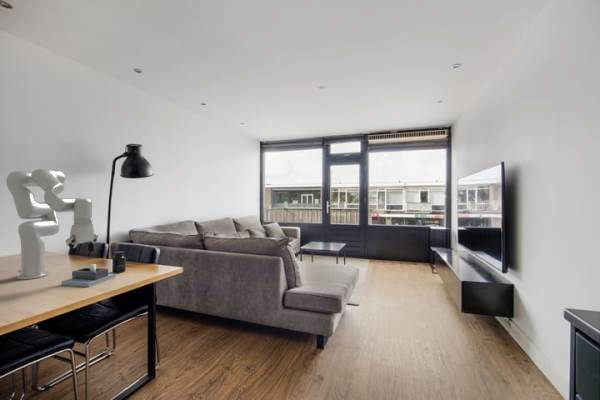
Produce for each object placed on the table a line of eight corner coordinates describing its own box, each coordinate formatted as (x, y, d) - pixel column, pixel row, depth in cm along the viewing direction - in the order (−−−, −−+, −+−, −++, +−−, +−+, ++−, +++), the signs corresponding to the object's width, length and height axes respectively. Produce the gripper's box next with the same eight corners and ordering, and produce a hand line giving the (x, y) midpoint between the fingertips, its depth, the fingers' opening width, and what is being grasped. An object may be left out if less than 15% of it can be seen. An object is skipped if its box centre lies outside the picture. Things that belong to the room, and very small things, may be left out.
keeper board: (61, 285, 135) (61, 267, 135) (90, 275, 151) (90, 260, 151) (88, 286, 133) (88, 269, 133) (115, 277, 149) (115, 261, 149)
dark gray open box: (72, 278, 139) (72, 271, 139) (85, 274, 147) (85, 267, 147) (95, 280, 137) (95, 272, 137) (108, 275, 145) (108, 268, 145)
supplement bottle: (118, 273, 156) (118, 253, 155) (109, 273, 157) (109, 253, 157) (128, 270, 162) (128, 251, 162) (119, 269, 164) (119, 250, 164)
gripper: (91, 219, 151) (91, 249, 152) (60, 222, 134) (59, 256, 135) (103, 220, 150) (102, 250, 151) (72, 223, 133) (72, 257, 133)
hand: (82, 253), depth 143 cm, fingers open, 9 cm apart
